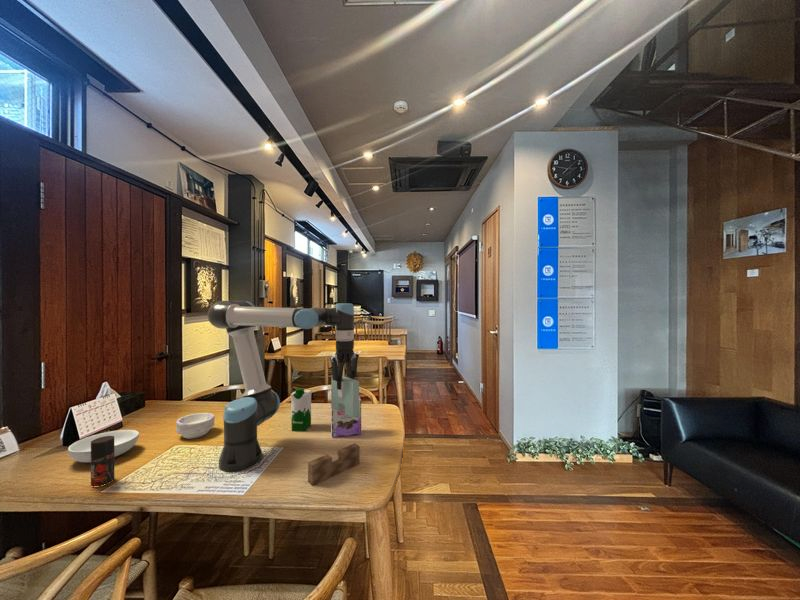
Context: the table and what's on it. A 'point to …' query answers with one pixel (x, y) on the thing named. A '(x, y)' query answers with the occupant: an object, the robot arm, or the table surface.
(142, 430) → the table surface
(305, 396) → the milk carton
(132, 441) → the serving bowl
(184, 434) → the paper bowls
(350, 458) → the walnut board
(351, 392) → the pale green slab
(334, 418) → the candy box
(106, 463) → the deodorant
